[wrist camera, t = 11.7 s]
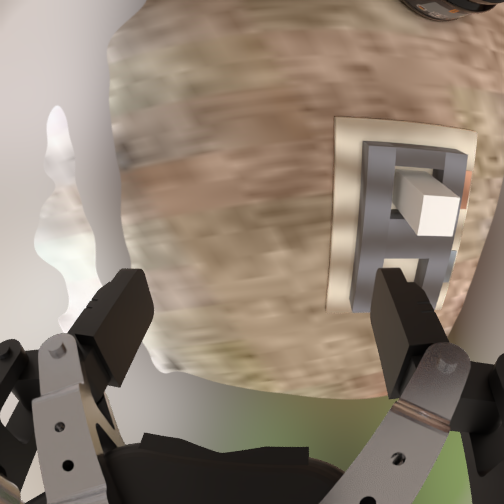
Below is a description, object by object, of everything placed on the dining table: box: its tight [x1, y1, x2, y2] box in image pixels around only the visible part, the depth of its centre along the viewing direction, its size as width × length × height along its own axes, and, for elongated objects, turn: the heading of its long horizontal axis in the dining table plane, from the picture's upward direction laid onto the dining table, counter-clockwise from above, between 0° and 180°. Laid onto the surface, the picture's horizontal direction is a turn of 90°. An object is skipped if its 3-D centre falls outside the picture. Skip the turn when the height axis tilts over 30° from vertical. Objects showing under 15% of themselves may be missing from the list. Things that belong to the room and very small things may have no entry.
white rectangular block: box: [392, 169, 460, 236], centre depth 30 cm, size 4×4×9 cm
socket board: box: [326, 116, 477, 313], centre depth 36 cm, size 26×18×4 cm
